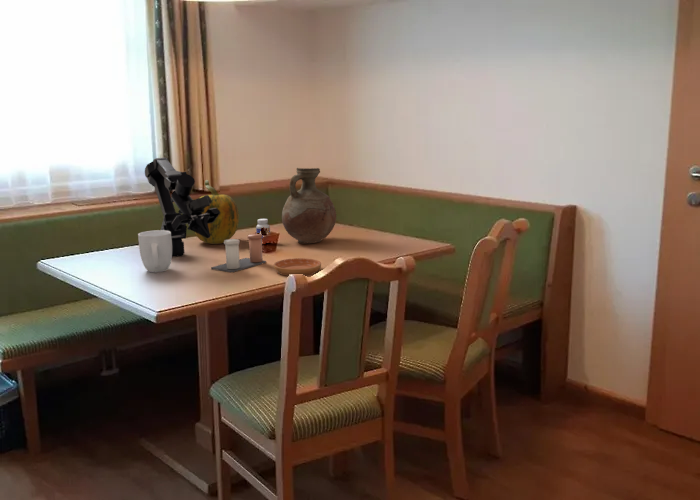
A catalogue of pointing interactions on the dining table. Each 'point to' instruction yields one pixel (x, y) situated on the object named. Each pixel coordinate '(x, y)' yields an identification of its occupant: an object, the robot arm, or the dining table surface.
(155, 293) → the dining table surface
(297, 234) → the jug
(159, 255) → the mug
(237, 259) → the white lidded cylinder
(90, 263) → the dining table surface
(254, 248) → the pink lidded jar
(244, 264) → the mat
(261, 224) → the pill bottle
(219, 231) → the pumpkin
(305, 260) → the saucer
